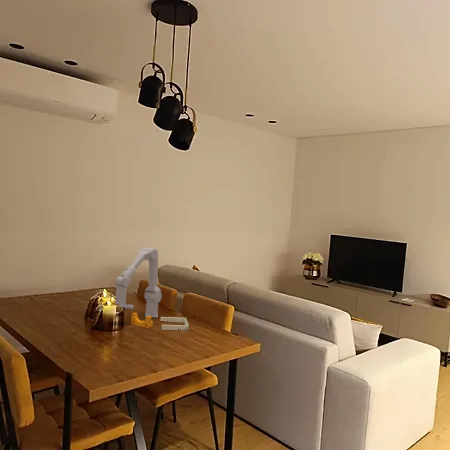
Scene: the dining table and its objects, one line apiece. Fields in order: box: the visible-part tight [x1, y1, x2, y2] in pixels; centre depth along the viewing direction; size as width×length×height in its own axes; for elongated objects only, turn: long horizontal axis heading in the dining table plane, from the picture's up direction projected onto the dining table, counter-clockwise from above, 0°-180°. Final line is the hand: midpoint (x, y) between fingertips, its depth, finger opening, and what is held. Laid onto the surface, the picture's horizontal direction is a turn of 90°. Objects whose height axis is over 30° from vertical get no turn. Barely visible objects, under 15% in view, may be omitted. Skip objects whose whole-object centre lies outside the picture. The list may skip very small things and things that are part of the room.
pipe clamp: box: [130, 312, 154, 329], centre depth 246 cm, size 12×4×6 cm, turn 64°
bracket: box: [159, 316, 190, 331], centre depth 251 cm, size 17×15×2 cm
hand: (119, 320), depth 245 cm, fingers closed
